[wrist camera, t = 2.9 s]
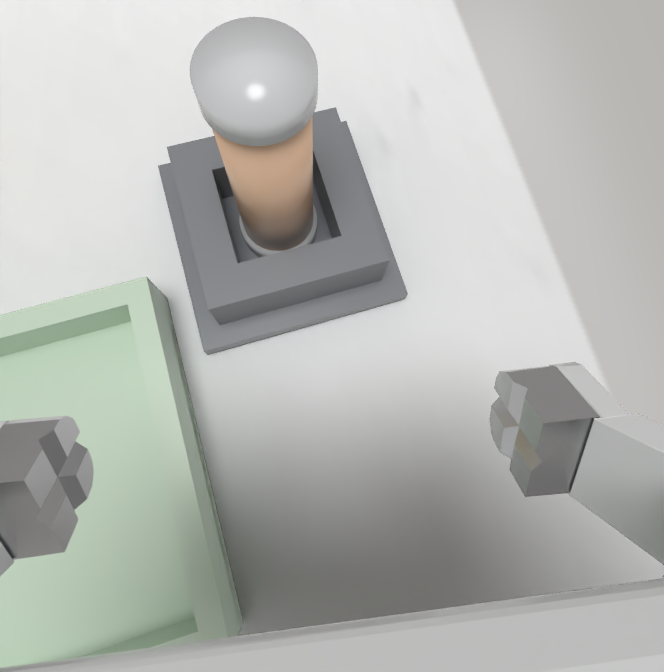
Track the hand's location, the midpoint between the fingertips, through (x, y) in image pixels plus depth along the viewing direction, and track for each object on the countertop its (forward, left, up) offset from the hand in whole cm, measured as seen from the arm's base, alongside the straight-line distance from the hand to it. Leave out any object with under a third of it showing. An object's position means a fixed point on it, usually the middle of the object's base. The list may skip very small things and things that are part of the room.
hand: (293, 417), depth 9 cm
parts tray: (+1, +13, -17) cm, 22 cm away
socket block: (+12, -2, -17) cm, 21 cm away
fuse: (+12, -2, -16) cm, 21 cm away
